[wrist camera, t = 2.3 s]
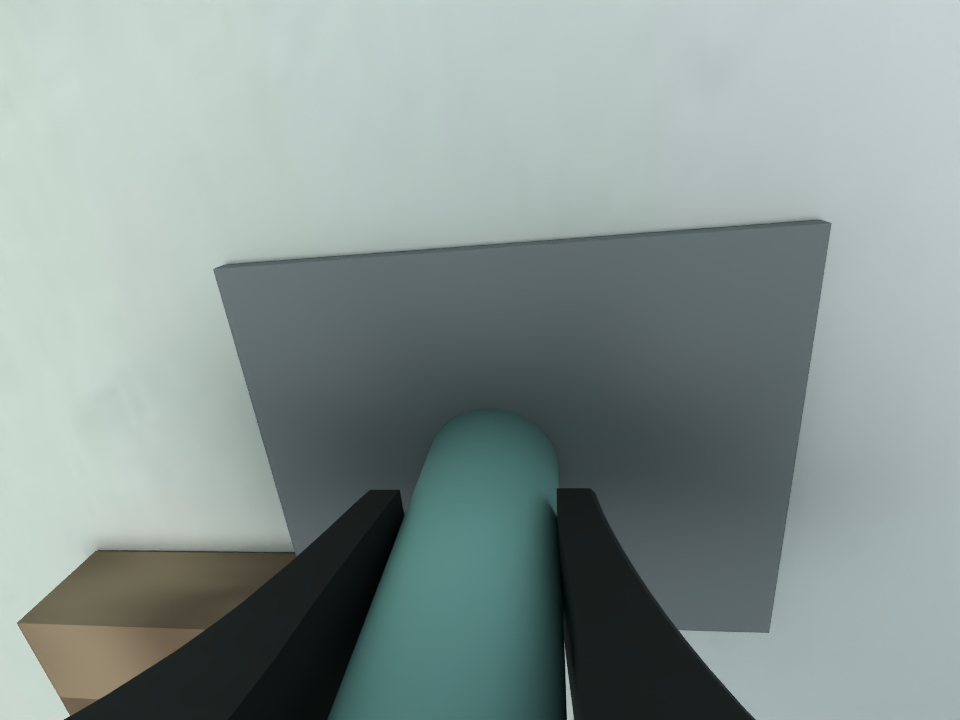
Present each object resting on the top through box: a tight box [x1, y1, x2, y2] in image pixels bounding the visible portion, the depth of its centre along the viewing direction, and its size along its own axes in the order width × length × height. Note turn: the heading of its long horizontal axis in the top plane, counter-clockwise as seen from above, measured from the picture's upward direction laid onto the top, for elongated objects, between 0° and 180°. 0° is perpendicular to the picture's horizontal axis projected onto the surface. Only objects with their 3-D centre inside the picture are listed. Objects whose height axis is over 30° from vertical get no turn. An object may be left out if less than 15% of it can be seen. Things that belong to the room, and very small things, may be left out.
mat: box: [213, 220, 831, 633], centre depth 12 cm, size 12×10×1 cm
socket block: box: [17, 551, 296, 716], centre depth 15 cm, size 10×10×2 cm
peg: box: [327, 409, 567, 720], centre depth 8 cm, size 3×3×8 cm
